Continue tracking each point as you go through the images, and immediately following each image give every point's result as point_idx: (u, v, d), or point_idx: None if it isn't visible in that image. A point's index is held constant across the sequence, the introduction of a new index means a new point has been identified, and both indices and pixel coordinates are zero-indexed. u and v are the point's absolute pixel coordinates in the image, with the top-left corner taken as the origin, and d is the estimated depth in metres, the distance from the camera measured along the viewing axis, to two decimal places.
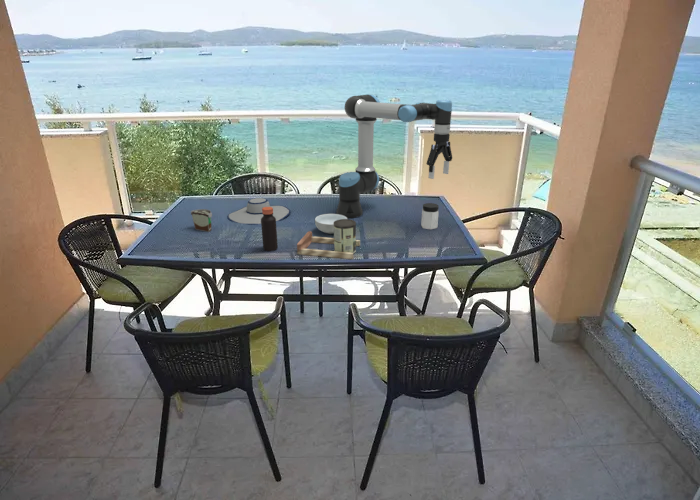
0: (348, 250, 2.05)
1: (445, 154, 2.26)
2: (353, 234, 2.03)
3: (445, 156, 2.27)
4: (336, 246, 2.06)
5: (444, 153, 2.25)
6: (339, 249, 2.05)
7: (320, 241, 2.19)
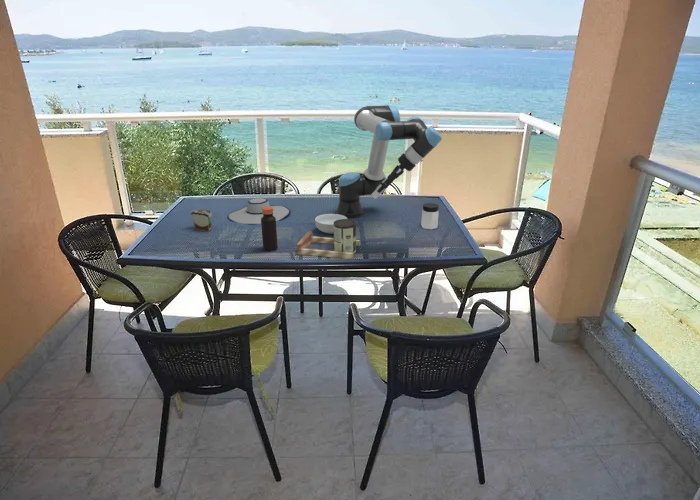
0: (348, 250, 2.05)
1: None
2: (353, 234, 2.03)
3: None
4: (336, 246, 2.06)
5: None
6: (339, 249, 2.05)
7: (320, 241, 2.19)
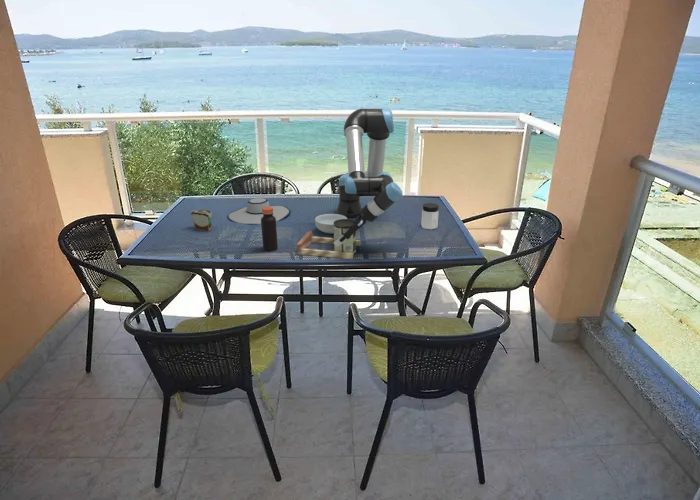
0: (348, 250, 2.05)
1: None
2: (353, 234, 2.03)
3: None
4: (336, 246, 2.06)
5: None
6: (339, 249, 2.05)
7: (320, 241, 2.19)
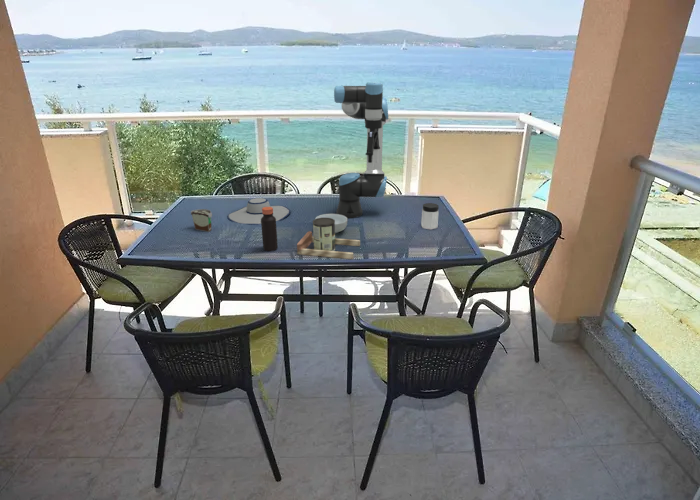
0: (327, 248, 2.07)
1: (375, 142, 2.08)
2: (332, 232, 2.05)
3: (374, 144, 2.10)
4: (315, 244, 2.08)
5: None
6: (318, 247, 2.07)
7: None
